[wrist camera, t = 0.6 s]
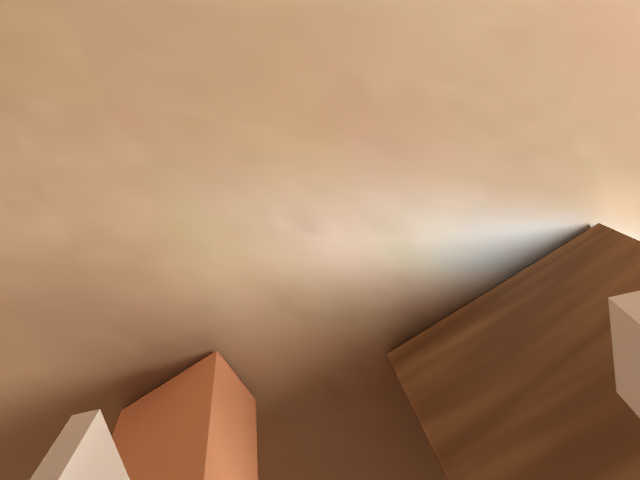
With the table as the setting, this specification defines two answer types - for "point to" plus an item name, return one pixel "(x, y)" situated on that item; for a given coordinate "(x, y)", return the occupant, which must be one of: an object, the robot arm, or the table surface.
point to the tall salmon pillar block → (191, 428)
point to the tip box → (531, 372)
